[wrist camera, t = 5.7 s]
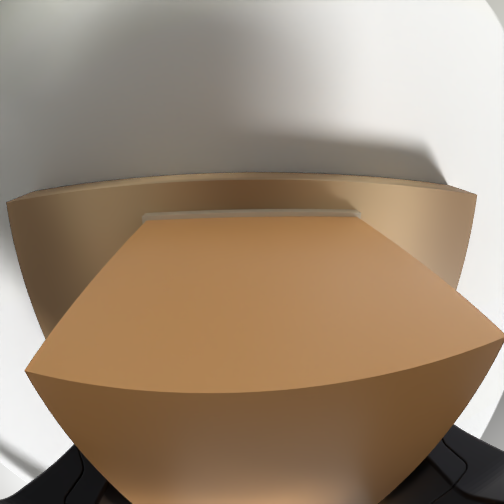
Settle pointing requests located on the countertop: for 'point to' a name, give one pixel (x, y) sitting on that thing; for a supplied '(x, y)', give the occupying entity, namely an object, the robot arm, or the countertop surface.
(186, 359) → the block
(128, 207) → the oak board
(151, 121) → the countertop surface
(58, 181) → the countertop surface
